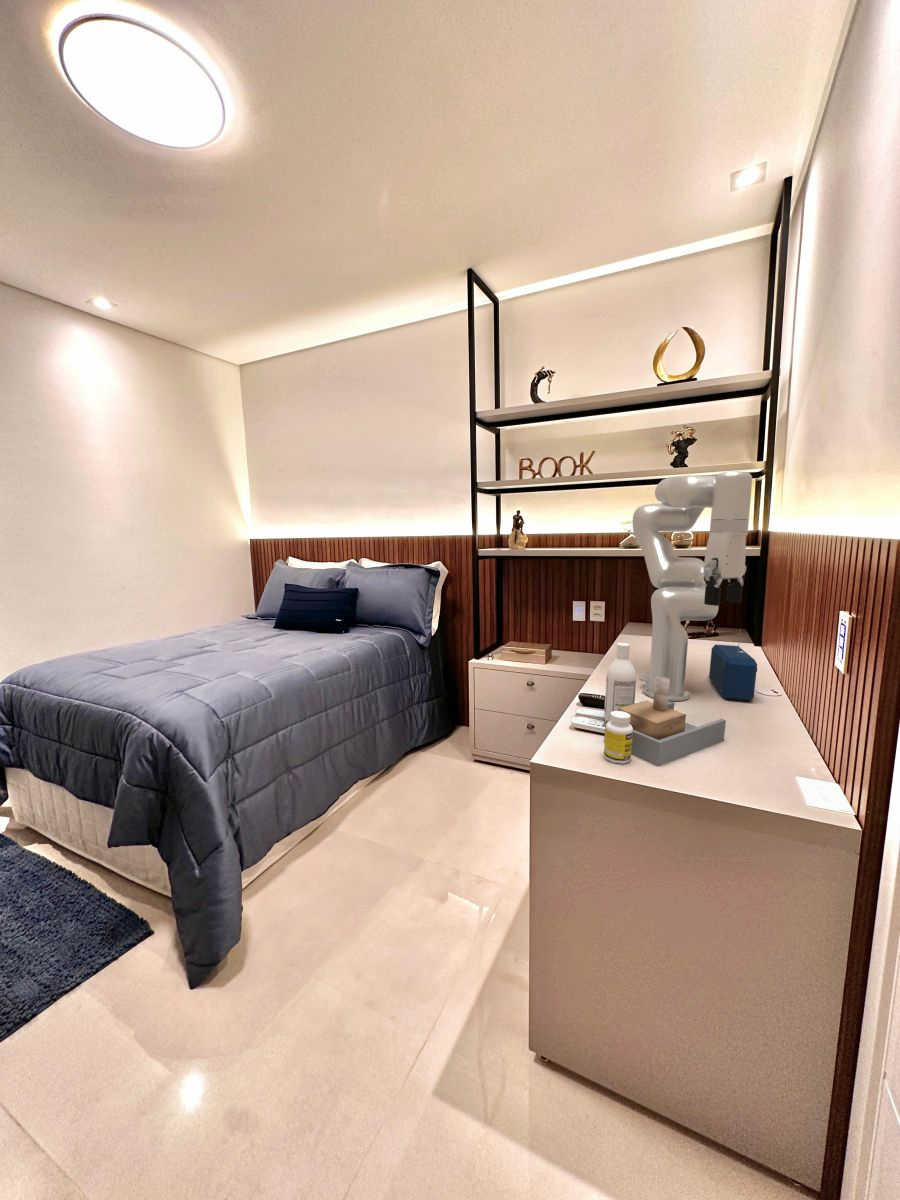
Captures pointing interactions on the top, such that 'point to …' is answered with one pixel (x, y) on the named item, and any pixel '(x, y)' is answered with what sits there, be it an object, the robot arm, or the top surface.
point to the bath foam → (620, 682)
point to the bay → (676, 741)
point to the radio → (733, 672)
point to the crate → (656, 713)
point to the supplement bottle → (618, 738)
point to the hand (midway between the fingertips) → (722, 603)
